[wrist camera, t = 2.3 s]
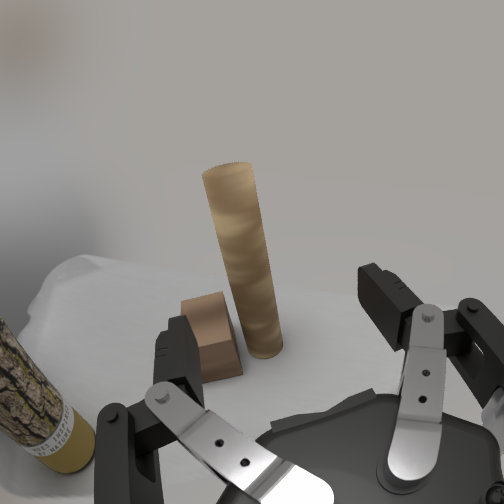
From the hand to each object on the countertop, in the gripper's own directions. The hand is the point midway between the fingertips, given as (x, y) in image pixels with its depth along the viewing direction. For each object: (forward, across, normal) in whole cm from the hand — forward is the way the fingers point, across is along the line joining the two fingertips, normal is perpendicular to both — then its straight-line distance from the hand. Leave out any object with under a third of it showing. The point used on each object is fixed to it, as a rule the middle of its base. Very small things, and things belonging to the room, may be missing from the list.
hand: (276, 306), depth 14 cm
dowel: (+12, 0, +14) cm, 18 cm away
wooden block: (+12, +5, +14) cm, 19 cm away
